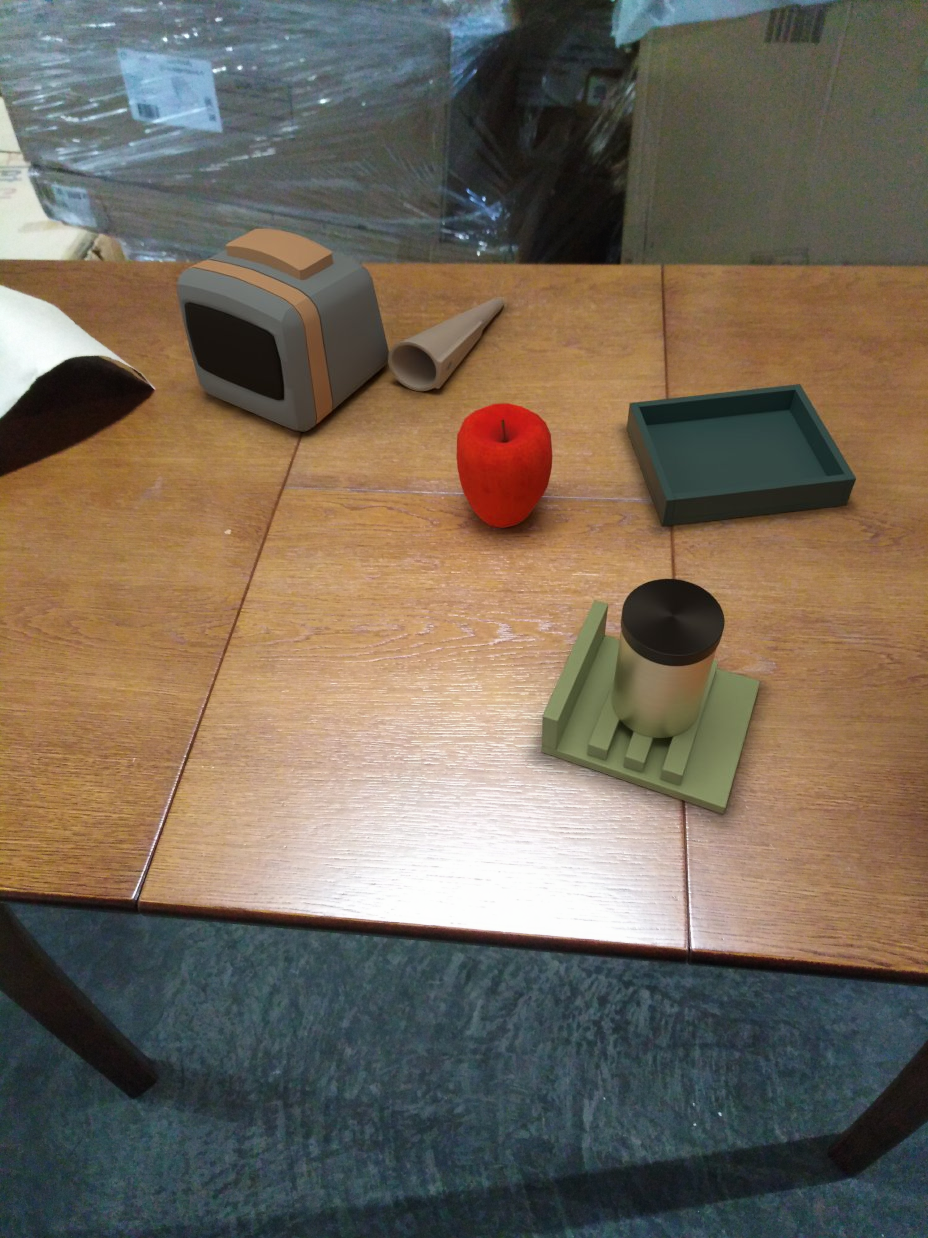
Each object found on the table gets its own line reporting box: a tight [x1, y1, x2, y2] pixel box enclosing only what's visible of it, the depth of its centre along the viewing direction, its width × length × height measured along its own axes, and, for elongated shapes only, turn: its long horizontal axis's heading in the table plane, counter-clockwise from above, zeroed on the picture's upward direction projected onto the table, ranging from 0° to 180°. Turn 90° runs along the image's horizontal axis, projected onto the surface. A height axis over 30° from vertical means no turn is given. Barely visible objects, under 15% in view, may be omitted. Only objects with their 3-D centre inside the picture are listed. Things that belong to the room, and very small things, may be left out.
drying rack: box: [540, 599, 761, 814], centre depth 68 cm, size 14×12×5 cm
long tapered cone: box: [387, 296, 505, 392], centre depth 103 cm, size 6×6×19 cm
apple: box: [456, 402, 553, 529], centre depth 82 cm, size 9×9×11 cm
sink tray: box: [626, 383, 857, 527], centre depth 87 cm, size 18×15×3 cm
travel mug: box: [612, 578, 726, 738], centre depth 64 cm, size 7×7×10 cm
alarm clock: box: [176, 228, 390, 433], centre depth 95 cm, size 16×16×16 cm
